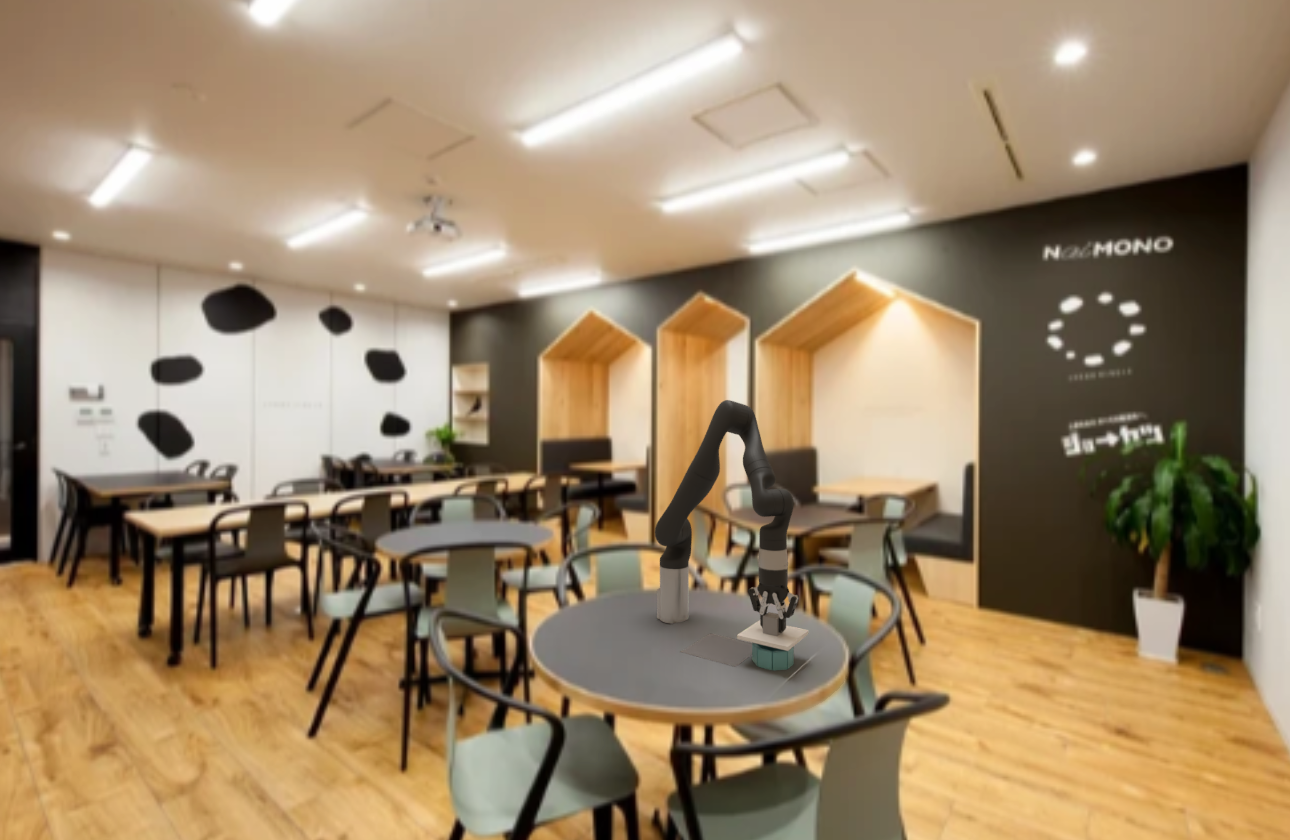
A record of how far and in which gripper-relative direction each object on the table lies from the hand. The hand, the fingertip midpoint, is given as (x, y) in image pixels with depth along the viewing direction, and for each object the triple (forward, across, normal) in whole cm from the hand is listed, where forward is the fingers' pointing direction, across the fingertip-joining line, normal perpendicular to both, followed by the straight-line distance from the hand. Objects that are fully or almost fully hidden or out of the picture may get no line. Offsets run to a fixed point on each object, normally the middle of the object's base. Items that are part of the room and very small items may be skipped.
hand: (773, 629), depth 160 cm
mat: (+9, -15, 0) cm, 18 cm away
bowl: (+9, 0, 0) cm, 9 cm away
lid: (+2, 0, 0) cm, 2 cm away
